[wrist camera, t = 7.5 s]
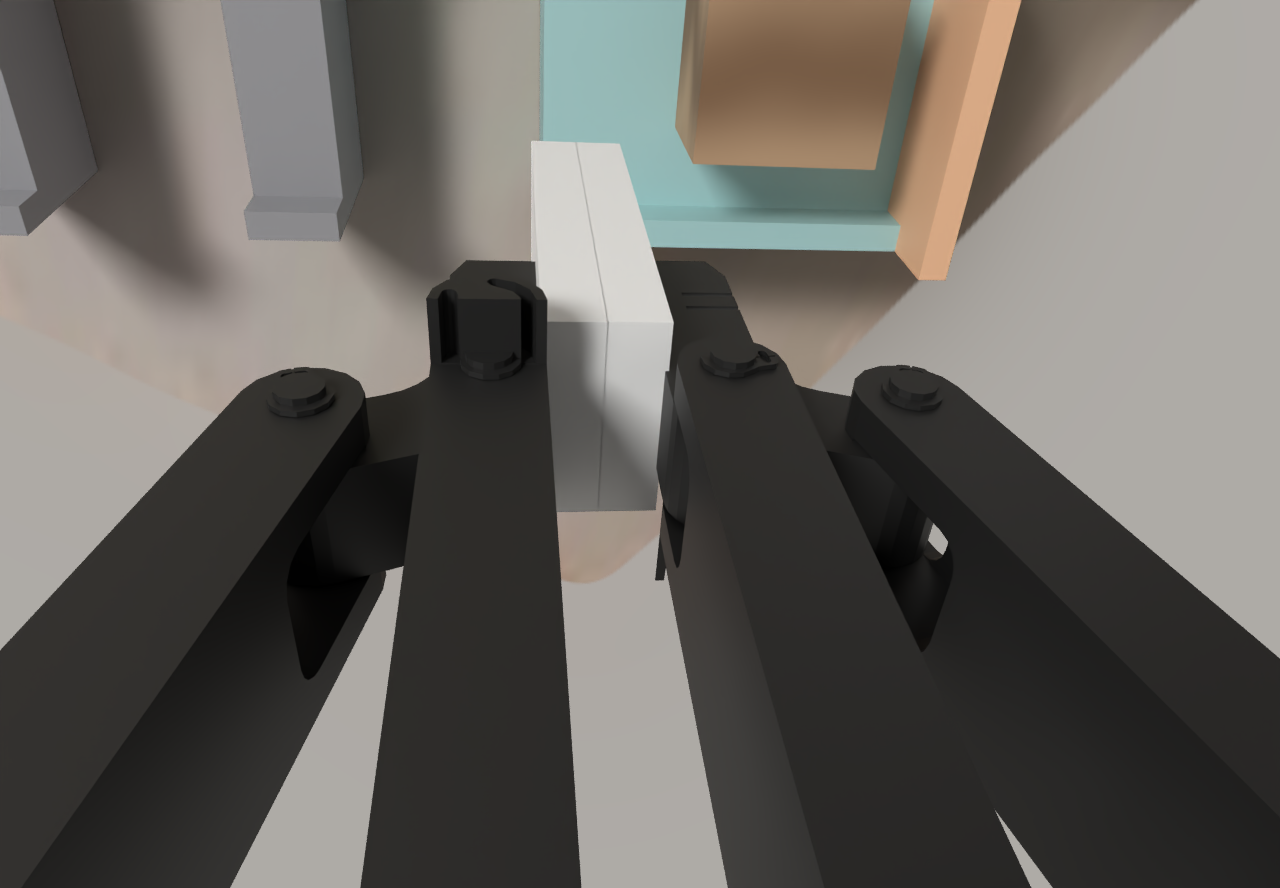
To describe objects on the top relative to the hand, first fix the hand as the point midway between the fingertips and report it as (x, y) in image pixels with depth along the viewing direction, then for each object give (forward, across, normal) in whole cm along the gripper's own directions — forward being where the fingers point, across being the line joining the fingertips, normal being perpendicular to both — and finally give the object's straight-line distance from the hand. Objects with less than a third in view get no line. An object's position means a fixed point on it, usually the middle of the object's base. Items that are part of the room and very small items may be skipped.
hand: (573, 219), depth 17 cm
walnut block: (+17, +8, 0) cm, 19 cm away
